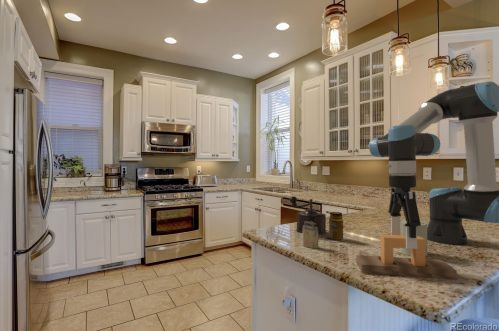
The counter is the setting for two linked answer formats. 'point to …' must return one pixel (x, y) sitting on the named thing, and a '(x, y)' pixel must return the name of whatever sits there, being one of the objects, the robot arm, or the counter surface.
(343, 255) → the counter surface
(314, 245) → the lighter
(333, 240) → the condiment
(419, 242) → the orange block
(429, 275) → the rail
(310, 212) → the manual coffee grinder
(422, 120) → the robot arm
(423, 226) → the can
